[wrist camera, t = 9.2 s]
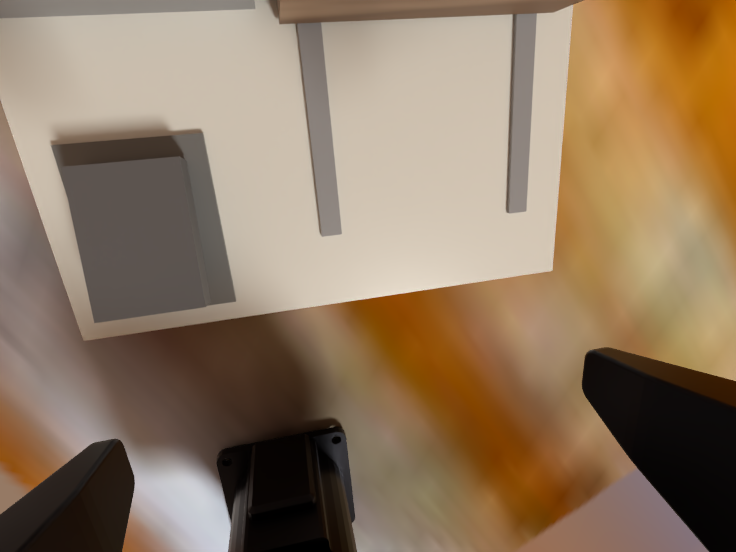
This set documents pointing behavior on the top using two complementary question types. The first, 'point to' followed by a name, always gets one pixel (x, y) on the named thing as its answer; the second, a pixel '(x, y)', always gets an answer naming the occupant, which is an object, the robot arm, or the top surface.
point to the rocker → (137, 237)
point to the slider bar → (407, 9)
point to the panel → (299, 142)
